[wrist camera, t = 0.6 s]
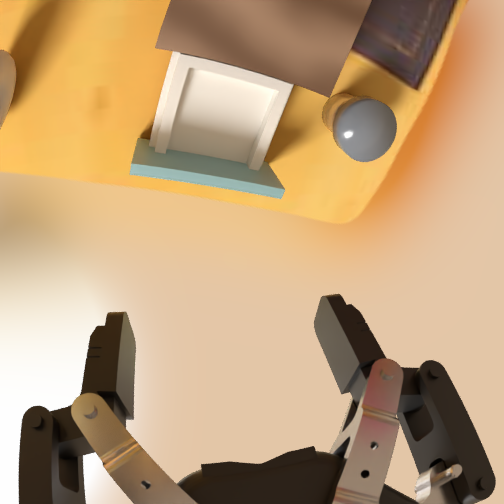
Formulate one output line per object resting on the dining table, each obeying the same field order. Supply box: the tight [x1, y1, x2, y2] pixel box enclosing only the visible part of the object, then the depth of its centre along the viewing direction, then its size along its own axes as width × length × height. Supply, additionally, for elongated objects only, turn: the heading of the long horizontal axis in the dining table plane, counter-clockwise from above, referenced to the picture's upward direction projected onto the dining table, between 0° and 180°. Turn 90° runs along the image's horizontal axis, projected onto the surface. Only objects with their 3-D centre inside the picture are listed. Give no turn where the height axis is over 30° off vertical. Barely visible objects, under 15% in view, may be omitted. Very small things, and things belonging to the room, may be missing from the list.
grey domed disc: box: [333, 96, 397, 162], centre depth 26 cm, size 6×6×2 cm
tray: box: [130, 51, 294, 199], centre depth 23 cm, size 17×14×6 cm
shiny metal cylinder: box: [322, 93, 354, 132], centre depth 29 cm, size 5×5×4 cm
